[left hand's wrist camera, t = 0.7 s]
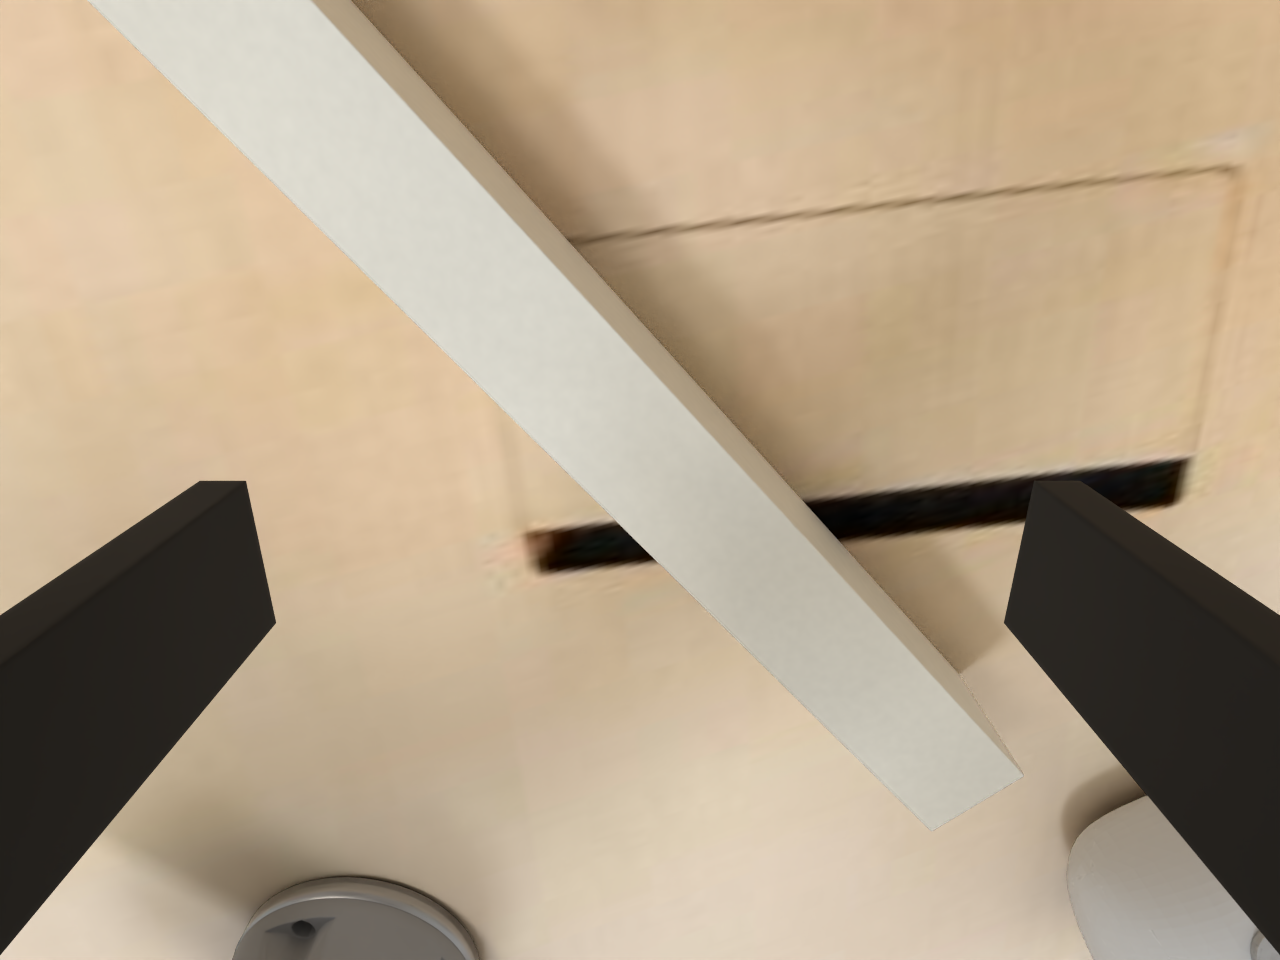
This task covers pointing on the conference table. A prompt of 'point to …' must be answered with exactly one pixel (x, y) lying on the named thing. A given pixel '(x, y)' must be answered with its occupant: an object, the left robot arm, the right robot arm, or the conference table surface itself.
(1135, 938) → the projector
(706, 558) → the bar
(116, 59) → the conference table surface
